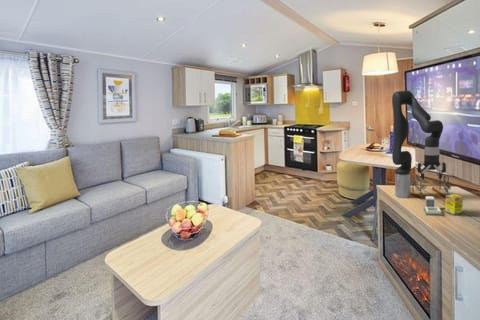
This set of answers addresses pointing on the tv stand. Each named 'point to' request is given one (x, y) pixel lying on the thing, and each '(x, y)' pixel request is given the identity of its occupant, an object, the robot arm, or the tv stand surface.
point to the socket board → (433, 211)
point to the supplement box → (454, 204)
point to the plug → (429, 201)
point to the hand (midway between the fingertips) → (431, 178)
